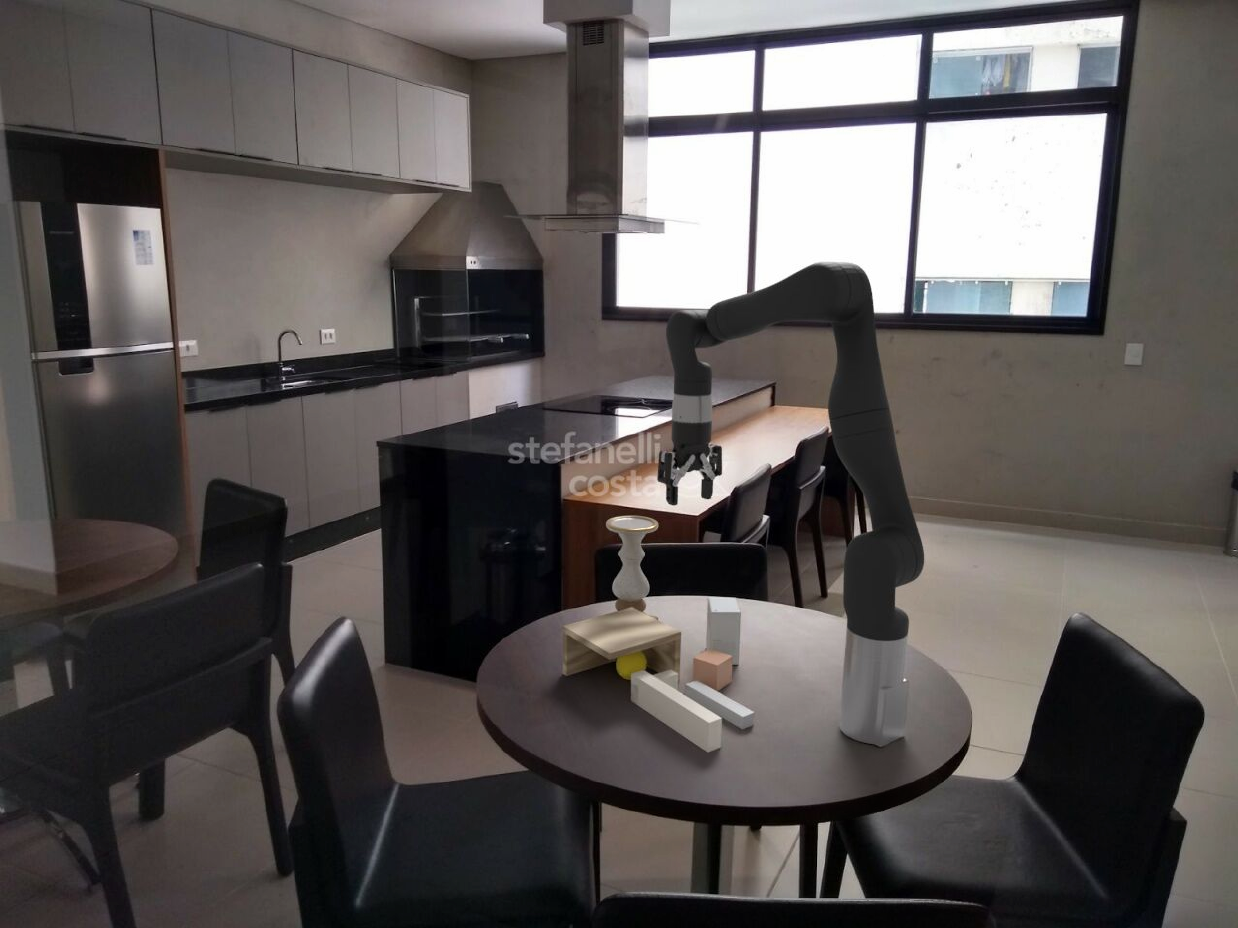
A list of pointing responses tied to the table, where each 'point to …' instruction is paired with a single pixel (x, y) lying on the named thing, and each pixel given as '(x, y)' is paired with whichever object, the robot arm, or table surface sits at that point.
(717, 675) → the terracotta block
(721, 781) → the table surface
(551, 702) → the table surface
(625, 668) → the lemon
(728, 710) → the grey stick
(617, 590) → the candle holder
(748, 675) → the table surface
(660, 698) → the white bar
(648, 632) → the cubby
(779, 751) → the table surface
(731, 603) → the small box
